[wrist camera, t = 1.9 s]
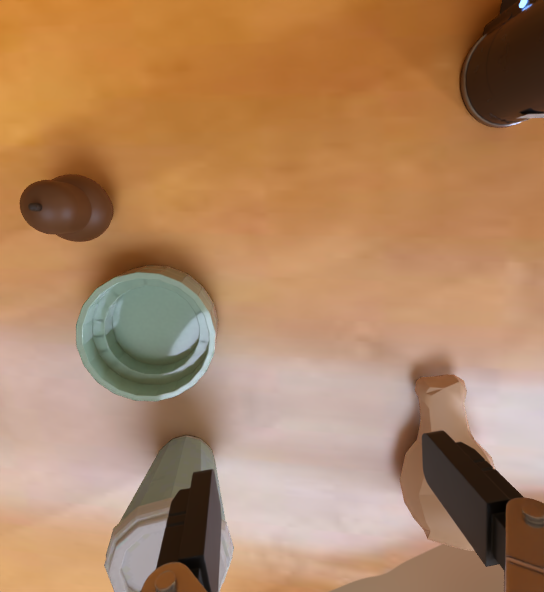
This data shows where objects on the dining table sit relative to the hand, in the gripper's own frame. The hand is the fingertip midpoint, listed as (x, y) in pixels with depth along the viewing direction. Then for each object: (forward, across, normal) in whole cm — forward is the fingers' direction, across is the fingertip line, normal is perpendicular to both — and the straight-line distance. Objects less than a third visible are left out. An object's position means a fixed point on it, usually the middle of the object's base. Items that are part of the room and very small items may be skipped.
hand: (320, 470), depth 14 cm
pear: (+28, +16, -12) cm, 34 cm away
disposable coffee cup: (+28, +12, +18) cm, 35 cm away
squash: (+28, -18, +21) cm, 40 cm away
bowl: (+28, +12, +1) cm, 30 cm away
